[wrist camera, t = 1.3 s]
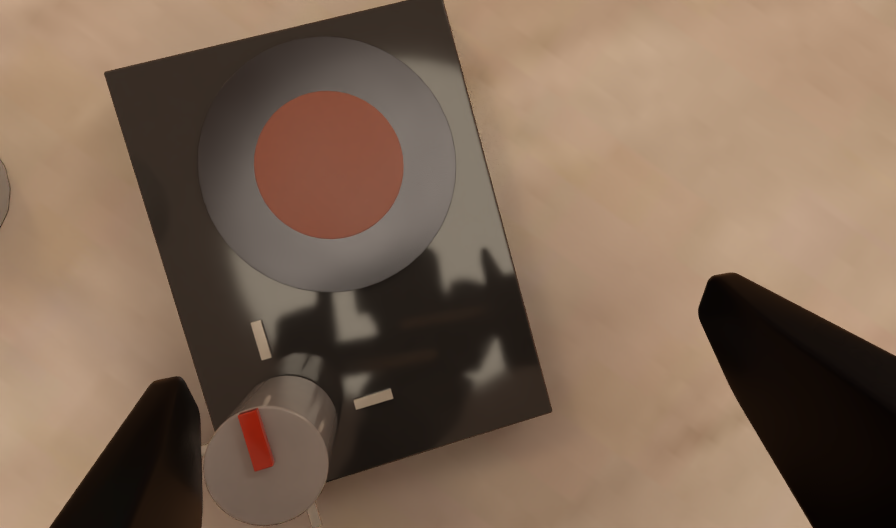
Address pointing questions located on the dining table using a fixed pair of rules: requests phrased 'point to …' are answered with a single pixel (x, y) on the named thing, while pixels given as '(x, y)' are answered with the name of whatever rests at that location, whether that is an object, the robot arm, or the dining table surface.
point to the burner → (326, 164)
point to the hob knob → (272, 452)
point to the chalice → (3, 192)
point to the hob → (351, 312)
